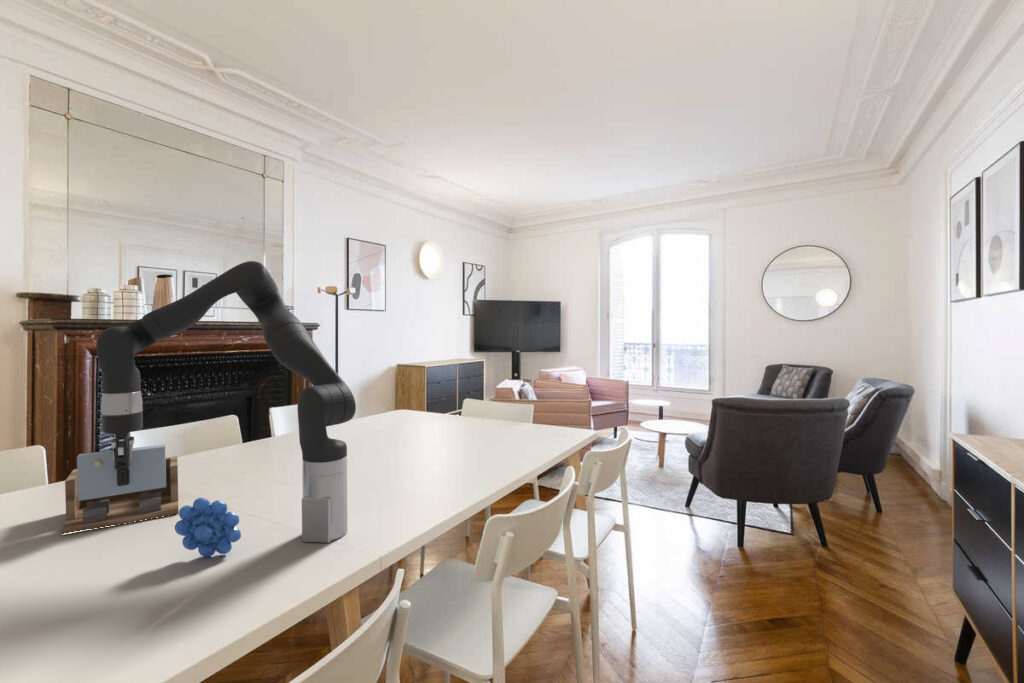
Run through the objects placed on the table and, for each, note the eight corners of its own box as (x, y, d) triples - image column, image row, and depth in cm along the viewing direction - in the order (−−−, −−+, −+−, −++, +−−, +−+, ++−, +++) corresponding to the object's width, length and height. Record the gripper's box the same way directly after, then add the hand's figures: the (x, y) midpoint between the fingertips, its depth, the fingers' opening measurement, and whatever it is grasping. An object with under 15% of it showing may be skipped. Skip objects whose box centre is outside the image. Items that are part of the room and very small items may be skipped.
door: (165, 488, 115) (164, 447, 115) (77, 502, 106) (76, 457, 106) (166, 483, 119) (165, 444, 118) (80, 497, 109) (79, 454, 109)
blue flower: (165, 571, 89) (164, 508, 89) (180, 554, 96) (179, 495, 95) (234, 563, 92) (233, 502, 92) (244, 547, 98) (243, 490, 98)
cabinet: (178, 514, 116) (177, 471, 115) (61, 536, 104) (59, 488, 103) (178, 494, 130) (177, 456, 129) (74, 511, 117) (73, 469, 117)
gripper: (140, 413, 109) (142, 488, 109) (144, 405, 120) (145, 472, 121) (97, 417, 104) (99, 494, 105) (105, 408, 116) (106, 478, 116)
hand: (124, 482), depth 113 cm, fingers closed on door, 3 cm apart
